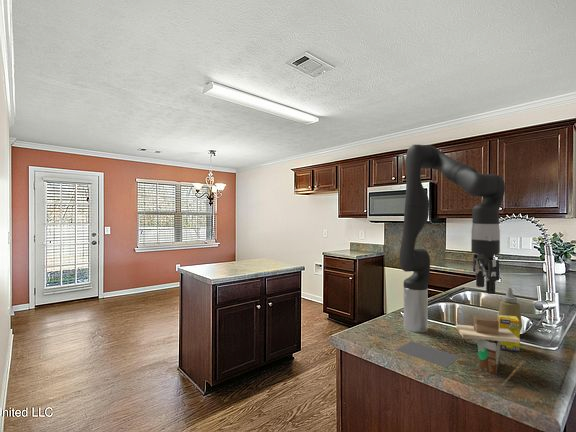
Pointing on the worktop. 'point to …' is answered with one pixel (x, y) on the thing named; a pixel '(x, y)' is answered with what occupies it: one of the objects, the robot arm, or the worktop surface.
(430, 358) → the mat
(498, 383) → the worktop surface
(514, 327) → the supplement box
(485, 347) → the food container
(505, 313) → the squeeze bottle
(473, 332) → the lid
